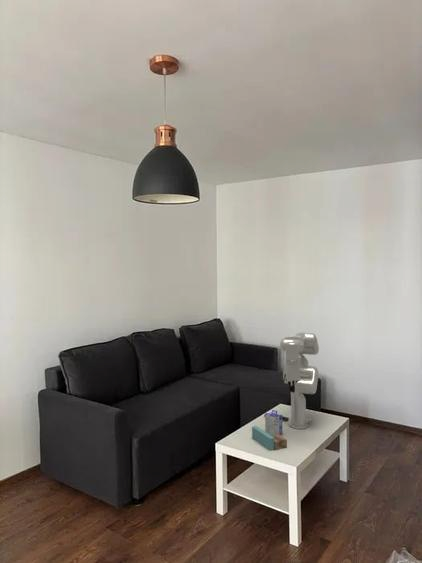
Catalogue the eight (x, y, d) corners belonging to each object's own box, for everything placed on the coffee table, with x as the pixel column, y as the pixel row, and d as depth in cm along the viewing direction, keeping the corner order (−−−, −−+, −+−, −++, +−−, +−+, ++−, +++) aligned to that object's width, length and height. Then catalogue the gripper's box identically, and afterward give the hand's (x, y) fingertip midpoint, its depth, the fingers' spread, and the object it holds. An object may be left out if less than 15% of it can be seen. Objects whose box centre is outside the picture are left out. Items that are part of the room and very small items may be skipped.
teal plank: (256, 436, 263) (256, 425, 262) (274, 449, 244) (274, 437, 244) (252, 437, 261) (252, 426, 261) (270, 450, 243) (270, 438, 243)
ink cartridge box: (283, 433, 267) (282, 411, 266) (279, 437, 262) (279, 414, 261) (268, 430, 272) (268, 408, 271) (265, 433, 267) (264, 411, 267)
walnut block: (278, 442, 254) (278, 434, 254) (286, 447, 247) (286, 439, 247) (267, 445, 251) (267, 437, 251) (275, 450, 244) (275, 442, 243)
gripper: (298, 359, 264) (298, 388, 265) (278, 362, 258) (278, 391, 259) (305, 362, 258) (305, 391, 258) (285, 364, 251) (285, 395, 252)
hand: (292, 391), depth 258 cm, fingers closed
